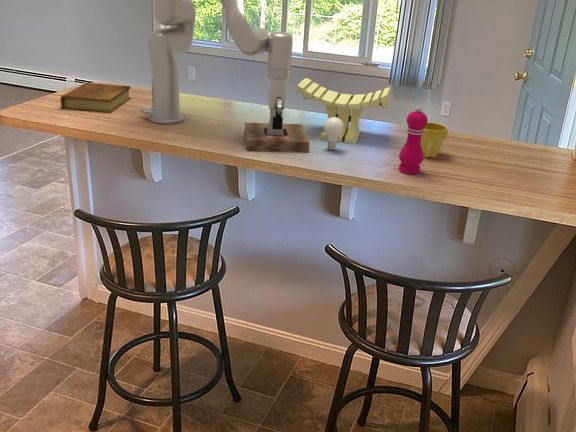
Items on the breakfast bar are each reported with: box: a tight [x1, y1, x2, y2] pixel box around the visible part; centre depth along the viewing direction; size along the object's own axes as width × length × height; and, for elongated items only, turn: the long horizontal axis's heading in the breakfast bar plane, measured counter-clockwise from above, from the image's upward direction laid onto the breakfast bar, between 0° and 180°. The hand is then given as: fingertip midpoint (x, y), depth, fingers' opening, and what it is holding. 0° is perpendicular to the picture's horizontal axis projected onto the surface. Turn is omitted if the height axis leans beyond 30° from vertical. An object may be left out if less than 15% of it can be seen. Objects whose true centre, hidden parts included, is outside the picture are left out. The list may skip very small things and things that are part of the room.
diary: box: [59, 82, 132, 114], centre depth 222 cm, size 23×19×6 cm
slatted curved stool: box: [296, 77, 391, 144], centre depth 201 cm, size 30×16×18 cm, turn 76°
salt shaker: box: [267, 107, 284, 135], centre depth 191 cm, size 6×6×13 cm
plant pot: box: [421, 121, 449, 158], centre depth 189 cm, size 10×10×10 cm
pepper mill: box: [398, 105, 429, 175], centre depth 171 cm, size 7×7×20 cm
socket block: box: [244, 122, 310, 153], centre depth 192 cm, size 20×20×4 cm
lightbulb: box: [323, 117, 344, 151], centre depth 187 cm, size 6×6×11 cm
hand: (275, 124), depth 191 cm, fingers open, 9 cm apart
